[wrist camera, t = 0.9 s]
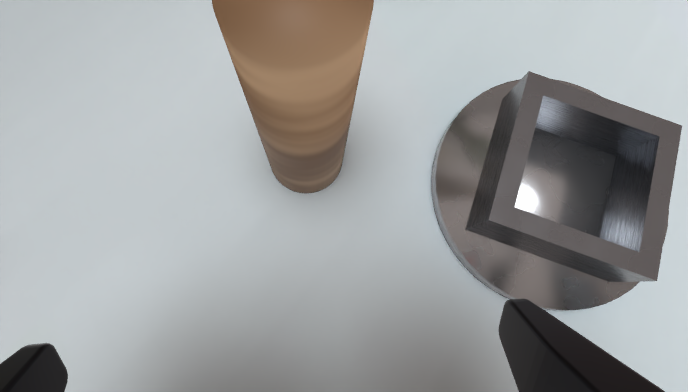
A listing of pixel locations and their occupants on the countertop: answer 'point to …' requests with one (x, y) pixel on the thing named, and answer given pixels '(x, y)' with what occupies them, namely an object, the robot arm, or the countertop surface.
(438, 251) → the countertop surface
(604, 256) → the square socket on disc
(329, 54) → the pin
